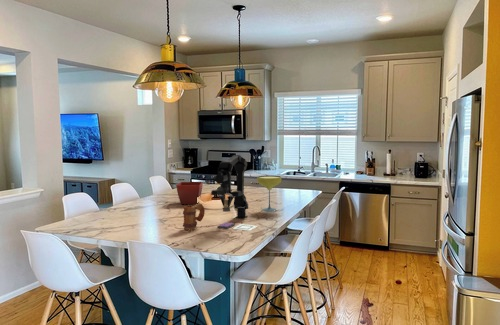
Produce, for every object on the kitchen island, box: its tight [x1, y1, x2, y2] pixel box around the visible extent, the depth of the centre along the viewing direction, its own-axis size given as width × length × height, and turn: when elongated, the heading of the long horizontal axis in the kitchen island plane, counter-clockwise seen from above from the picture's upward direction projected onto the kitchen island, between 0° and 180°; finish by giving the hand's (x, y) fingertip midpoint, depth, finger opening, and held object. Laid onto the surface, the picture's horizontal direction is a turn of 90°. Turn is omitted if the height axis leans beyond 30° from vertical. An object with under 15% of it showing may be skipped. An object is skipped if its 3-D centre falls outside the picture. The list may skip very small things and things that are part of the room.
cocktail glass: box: [256, 175, 282, 212], centre depth 276 cm, size 18×18×25 cm
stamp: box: [222, 198, 231, 212], centre depth 228 cm, size 4×4×7 cm
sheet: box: [231, 223, 259, 232], centre depth 226 cm, size 12×12×1 cm
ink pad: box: [217, 222, 236, 230], centre depth 229 cm, size 10×7×1 cm
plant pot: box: [175, 181, 204, 205], centre depth 306 cm, size 19×19×17 cm
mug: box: [182, 202, 206, 231], centre depth 224 cm, size 15×8×15 cm, turn 126°
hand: (226, 206), depth 228 cm, fingers closed on stamp, 3 cm apart
